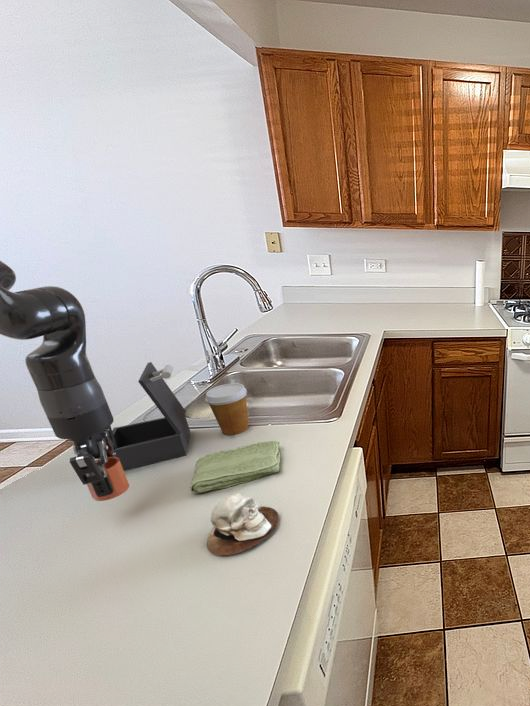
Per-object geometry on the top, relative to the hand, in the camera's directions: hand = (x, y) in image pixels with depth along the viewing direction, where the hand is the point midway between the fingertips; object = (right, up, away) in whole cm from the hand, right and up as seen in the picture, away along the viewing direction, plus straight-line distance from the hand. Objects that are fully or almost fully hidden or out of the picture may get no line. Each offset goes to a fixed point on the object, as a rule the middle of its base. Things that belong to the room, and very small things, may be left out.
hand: (110, 484), depth 74 cm
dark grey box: (-13, 0, +25) cm, 28 cm away
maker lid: (-8, +14, +22) cm, 28 cm away
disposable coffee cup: (+2, +4, +35) cm, 35 cm away
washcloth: (+13, -2, +18) cm, 23 cm away
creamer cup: (0, -1, +1) cm, 2 cm away
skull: (+25, -9, +1) cm, 26 cm away
